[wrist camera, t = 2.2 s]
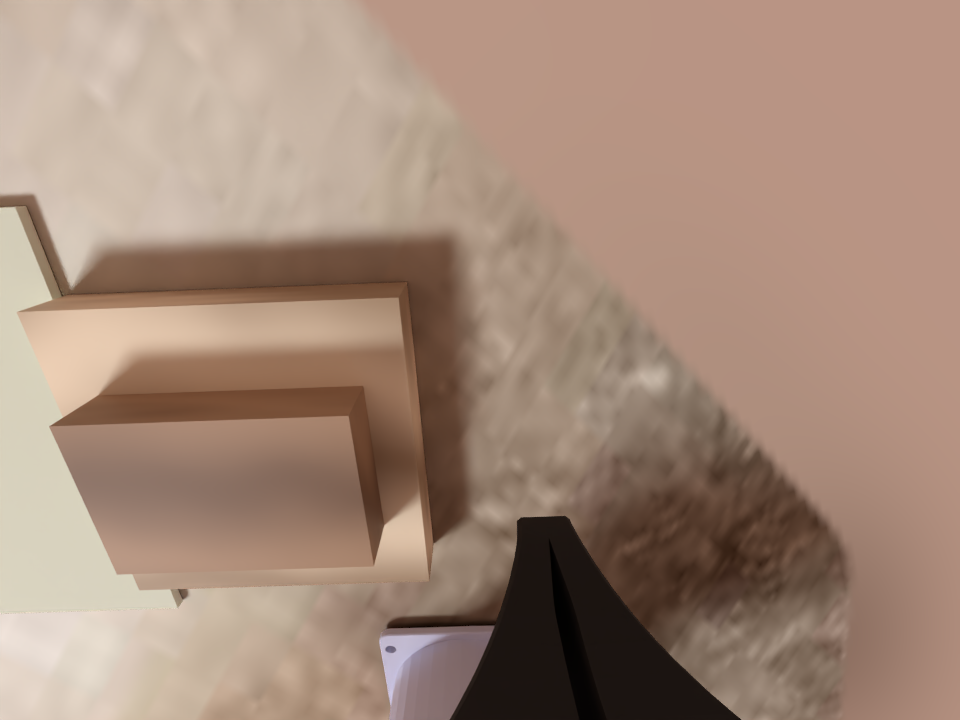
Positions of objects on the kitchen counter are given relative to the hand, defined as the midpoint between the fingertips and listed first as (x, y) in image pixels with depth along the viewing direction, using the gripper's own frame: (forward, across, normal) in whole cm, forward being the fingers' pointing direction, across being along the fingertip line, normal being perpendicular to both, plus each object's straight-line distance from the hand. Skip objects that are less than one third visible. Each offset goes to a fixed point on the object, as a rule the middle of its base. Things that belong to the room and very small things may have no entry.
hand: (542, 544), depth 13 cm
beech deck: (+6, +10, 0) cm, 12 cm away
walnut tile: (+4, +10, 0) cm, 11 cm away
